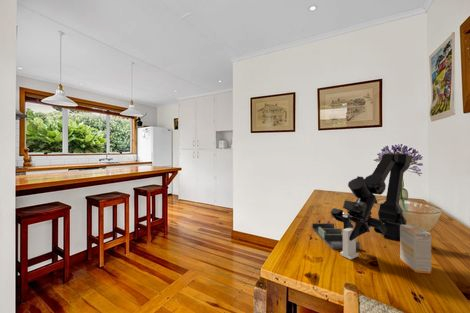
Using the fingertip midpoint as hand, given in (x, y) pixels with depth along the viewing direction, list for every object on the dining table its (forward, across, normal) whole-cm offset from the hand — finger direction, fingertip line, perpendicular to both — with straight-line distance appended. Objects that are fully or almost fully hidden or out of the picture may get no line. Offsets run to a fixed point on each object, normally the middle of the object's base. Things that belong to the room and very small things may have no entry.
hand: (346, 238), depth 74 cm
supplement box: (-5, +15, +15) cm, 22 cm away
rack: (-3, -14, +13) cm, 19 cm away
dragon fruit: (-25, -19, +36) cm, 48 cm away
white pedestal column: (+4, 0, +6) cm, 7 cm away
